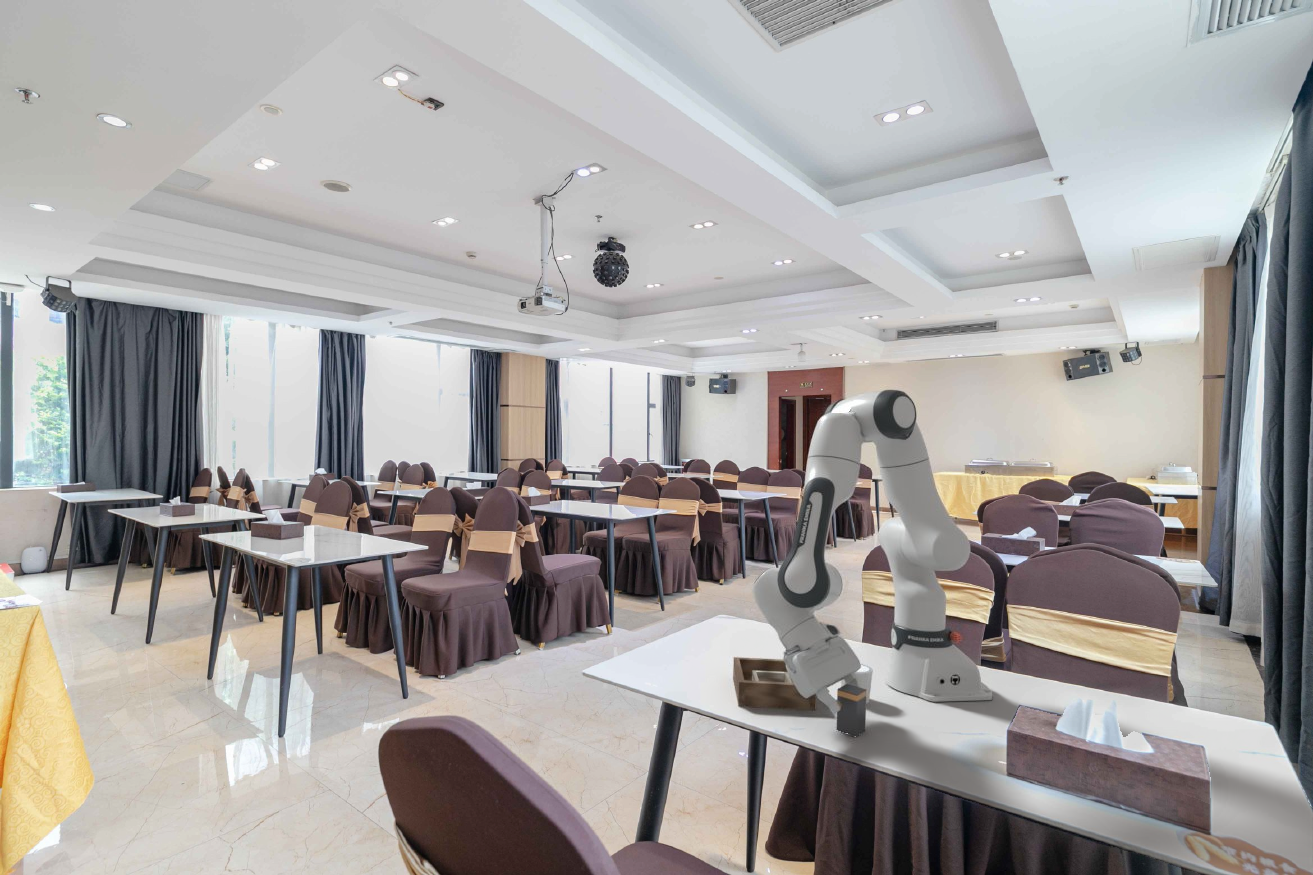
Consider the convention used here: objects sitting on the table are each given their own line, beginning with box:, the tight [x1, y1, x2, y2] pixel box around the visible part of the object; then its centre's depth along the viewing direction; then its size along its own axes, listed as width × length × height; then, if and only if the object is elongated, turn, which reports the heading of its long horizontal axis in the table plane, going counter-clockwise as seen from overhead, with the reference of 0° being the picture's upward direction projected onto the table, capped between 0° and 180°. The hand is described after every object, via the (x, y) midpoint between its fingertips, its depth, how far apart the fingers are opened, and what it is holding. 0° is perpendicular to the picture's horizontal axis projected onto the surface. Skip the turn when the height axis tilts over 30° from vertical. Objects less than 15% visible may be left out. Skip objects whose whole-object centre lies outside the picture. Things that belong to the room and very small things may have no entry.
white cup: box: [840, 663, 873, 705], centre depth 138 cm, size 7×7×7 cm
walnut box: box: [732, 656, 817, 711], centre depth 140 cm, size 16×16×5 cm
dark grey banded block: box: [836, 684, 867, 738], centre depth 122 cm, size 4×4×8 cm
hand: (850, 704), depth 123 cm, fingers open, 8 cm apart
